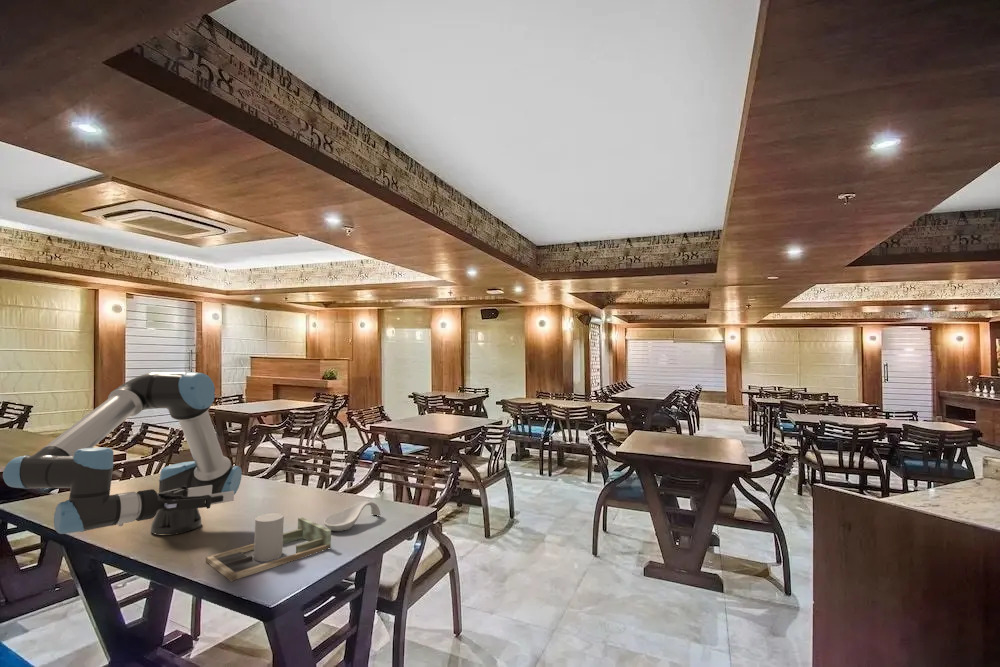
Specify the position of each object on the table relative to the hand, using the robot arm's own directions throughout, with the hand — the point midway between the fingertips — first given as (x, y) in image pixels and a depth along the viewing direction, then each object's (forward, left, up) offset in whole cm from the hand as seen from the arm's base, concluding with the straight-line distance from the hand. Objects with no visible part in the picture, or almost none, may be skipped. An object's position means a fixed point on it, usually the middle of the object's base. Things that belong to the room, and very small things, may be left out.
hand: (222, 492), depth 140 cm
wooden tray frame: (0, +15, -23) cm, 27 cm away
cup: (0, +14, -23) cm, 27 cm away
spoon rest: (-5, +49, -23) cm, 54 cm away
